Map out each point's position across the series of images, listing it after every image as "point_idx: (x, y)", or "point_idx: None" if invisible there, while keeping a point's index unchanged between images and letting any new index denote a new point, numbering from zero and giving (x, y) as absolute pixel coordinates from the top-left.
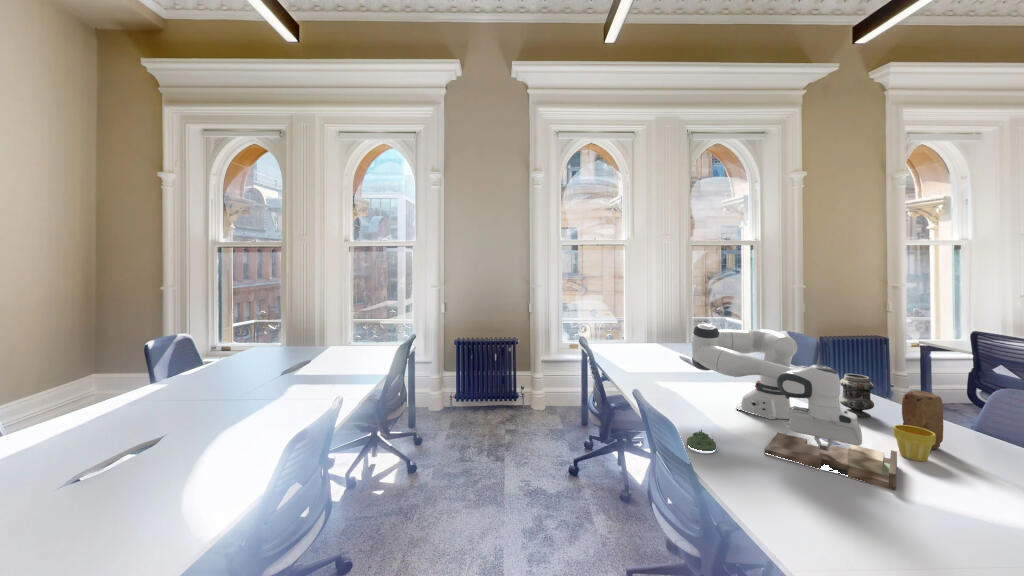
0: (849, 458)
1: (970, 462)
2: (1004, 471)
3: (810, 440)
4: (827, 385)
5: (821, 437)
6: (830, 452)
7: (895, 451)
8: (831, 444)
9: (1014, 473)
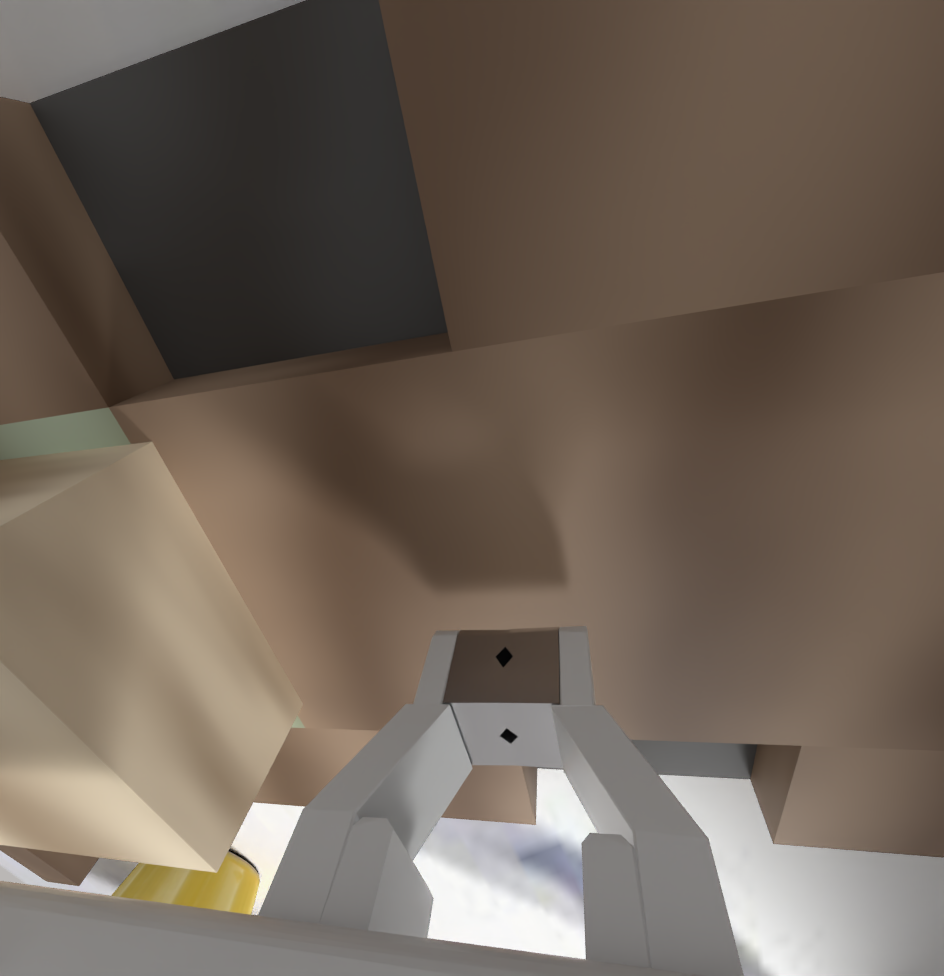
0: (31, 502)
1: (106, 888)
2: (23, 869)
3: (723, 842)
4: None
5: (503, 973)
6: None
7: (53, 880)
8: (343, 770)
9: (5, 867)
